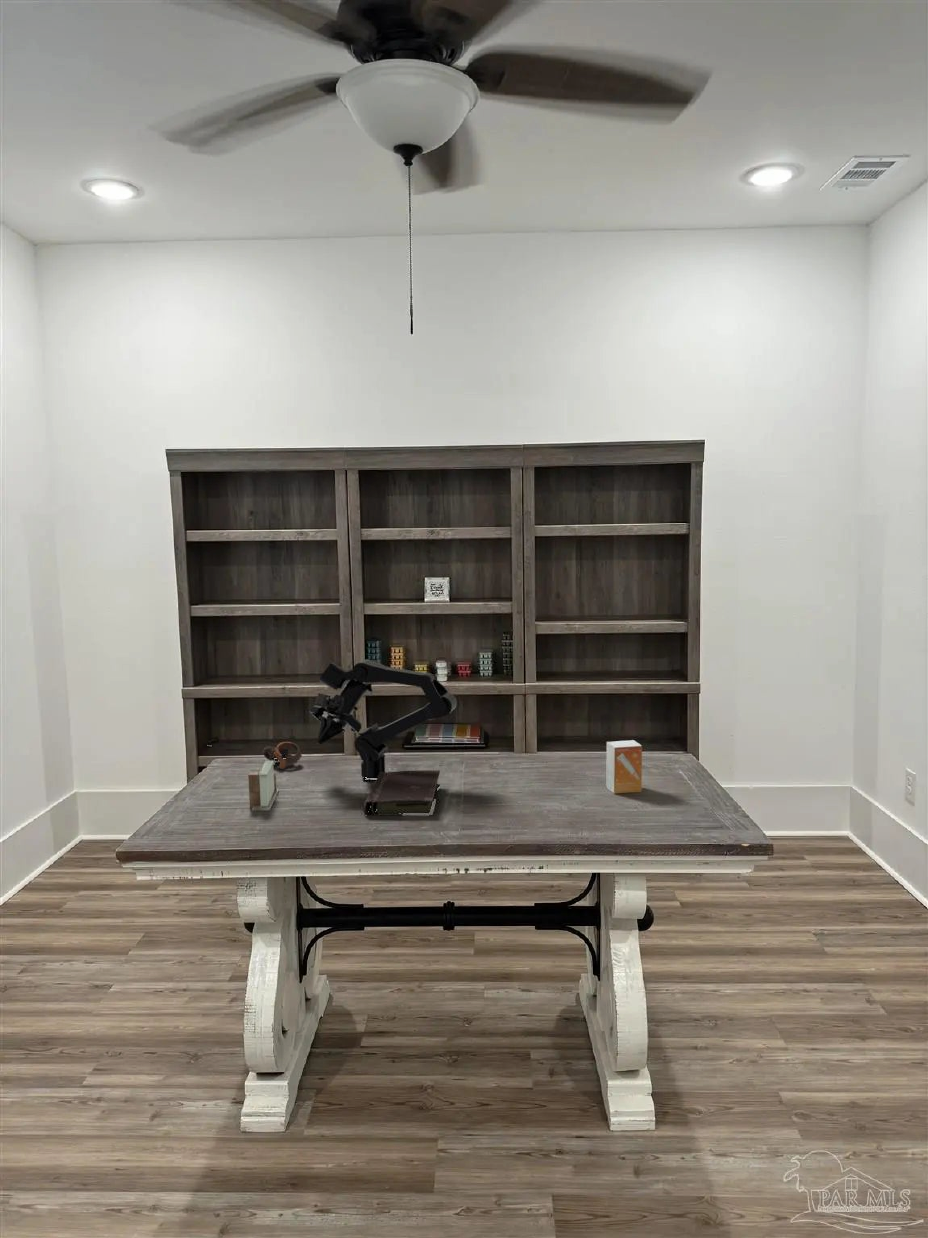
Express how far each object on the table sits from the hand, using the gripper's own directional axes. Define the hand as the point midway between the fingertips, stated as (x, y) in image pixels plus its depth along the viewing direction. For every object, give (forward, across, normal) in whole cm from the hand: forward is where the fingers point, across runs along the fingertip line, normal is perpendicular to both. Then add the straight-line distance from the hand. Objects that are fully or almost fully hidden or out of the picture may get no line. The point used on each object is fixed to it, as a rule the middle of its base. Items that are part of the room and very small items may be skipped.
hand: (318, 743), depth 245 cm
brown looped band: (+6, -27, +12) cm, 30 cm away
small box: (-31, +63, +49) cm, 86 cm away
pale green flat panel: (+20, +1, -4) cm, 21 cm away
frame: (+21, -1, -3) cm, 21 cm away
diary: (+3, +26, +16) cm, 31 cm away
